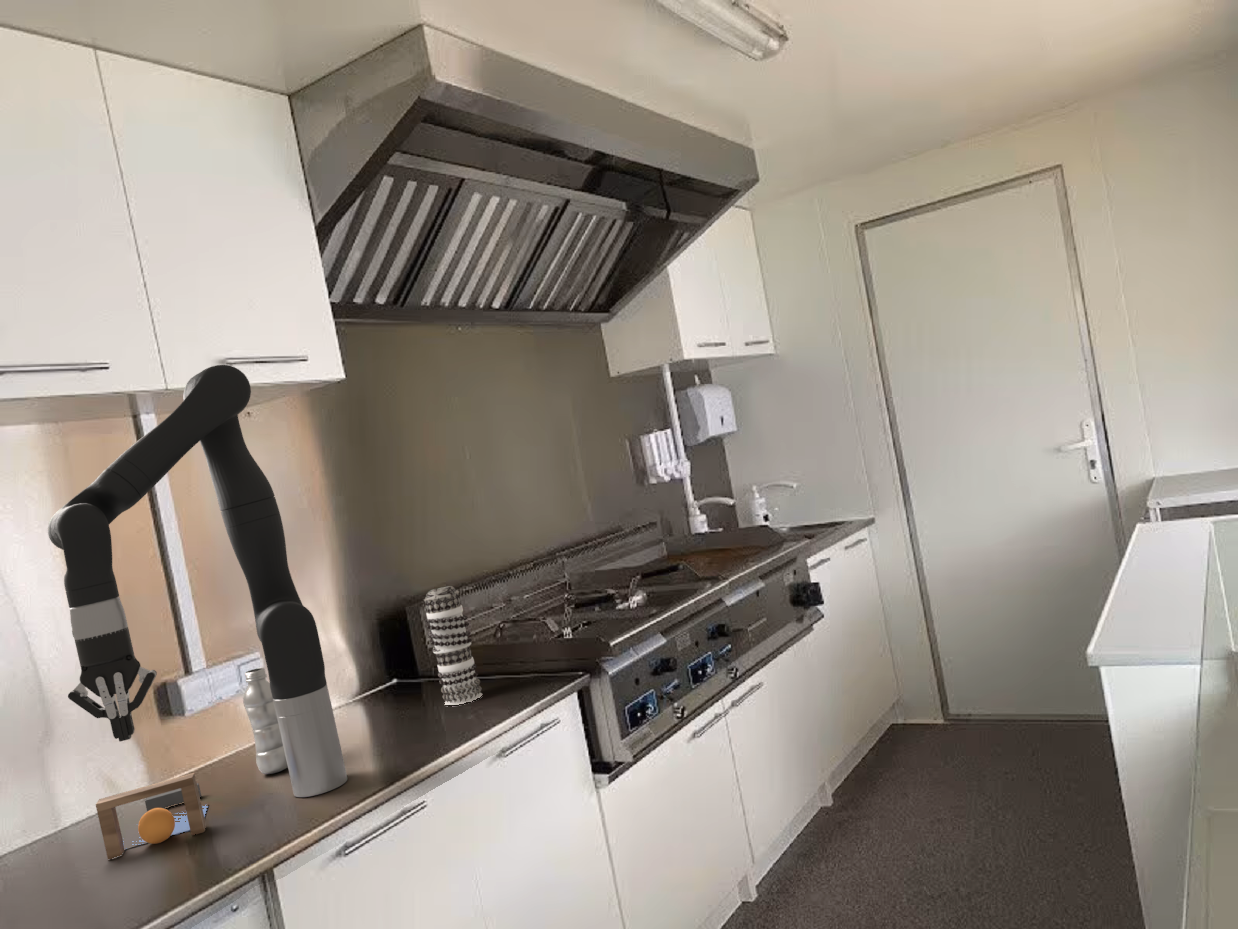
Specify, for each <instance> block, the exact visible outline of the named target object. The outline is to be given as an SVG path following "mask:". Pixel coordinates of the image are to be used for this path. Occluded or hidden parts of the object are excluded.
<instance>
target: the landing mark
mask: <svg viewBox="0 0 1238 929" xmlns="http://www.w3.org/2000/svg"><path fill="white" fill-rule="evenodd" d="M204 805H205V806H203V805H202V808H204V809H203V814H204V818H206V815H207V812H208V809H206V808H209V806H206V805H207V804H204ZM206 811H207V812H206ZM182 812H183V811H182ZM178 813H179V812H175V814H178ZM179 814H187V813H184V812H183V813H179ZM205 814H206V815H205ZM173 817H174V818H176V819H175V821H180V822H175V827H174V830H173V832H172V834H171V835H170V836H172V835H175V836H178V835H181V834H180V833H182V834H184V833H183V832H185V833H188V832H191V831H190V827H189V822H188V818H187V815H186V816H185V815H184V816H182V815H181V816H173ZM178 818H181V819H179V820H178ZM185 821H186V822H185ZM172 837H173V836H172ZM139 838H141V837H139ZM123 842H124V841H123ZM132 842H134V841H132ZM136 842H137V841H136ZM139 842H145V841H144V840H142V841H141V840H139ZM142 844H144V843H142ZM132 845H134V844H132ZM135 845H137V844H135ZM138 845H141V844H138ZM141 846H142V845H141ZM126 849H127V848H126Z"/></svg>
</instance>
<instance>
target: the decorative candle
mask: <svg viewBox="0 0 1238 929" xmlns="http://www.w3.org/2000/svg"><path fill="white" fill-rule="evenodd" d="M459 593H460V590H457V589H456V588H455V587H454V586H452V585H447V586H441V587H437V588H434V589H431V590H429V591H427V593H426V595H425V598H423V599H422V601H424V606H425V611H426V612H425V615H426V617H425V618H424V621H425V622H426V624H425V626H424V627H426V628H427V630H429V631H428V633H427V635H428V636H429V638H430V640H429V643H430V644H431V645H432V646H433V647H432V650H431V651H432V653H433V654H435V657H436V661H437V665H436V666H437V670H438V673H437V677H438V678H439V679H440V680H439V681H438V683H439V685H441V686H442V687H441V688H440V692H441V693H442V694H443V695H442V699H443V700H444V701H445V702H444V703H445V704H444V706H445V705H459V704H464V703H466V702H471V703H473V702H474V701H473V700H476V699H477V698H480V697H481V696H482V695H483V693H482V687H481V685H480V683H481V680H480V679H479V678H478V677H477V676H478V675H479V671H477V670H476V669H477V668H478V665H477V664H475V659H474V656H473V655H472V650H471V645H472V640H473V639H472V638H470V637H469V636H470V635H471V632H470V631H468V630H467V628H468V627H469V625H470V623H469V622H467V621H466V620H467V619H468V615H466V614H463V612H464V608H463V605H462V603H461V598H460V596H459V595H460V594H459ZM482 697H483V696H482ZM482 697H481V698H482ZM481 698H480V699H481ZM472 701H473V702H472ZM476 701H477V700H476ZM464 705H465V704H464ZM459 706H460V705H459Z"/></svg>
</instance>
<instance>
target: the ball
mask: <svg viewBox="0 0 1238 929" xmlns="http://www.w3.org/2000/svg"><path fill="white" fill-rule="evenodd" d="M172 814H173V813H172V812H171V811H170V810H168V808H167V809H164V808H154V809H151V810H149V811H148V812H147V811H146V812H145V813H143V815H141V817H140V819H139V821H138V824H137V825H138V833H139V835H140V837H141V838H142V840H144V841H145V842H147V843H148V844H151V845H152V844H153V845H154V844H160V843H163V842H165V841H166V840H168V839H169V838H170V835H171V834H172V832H173V830H174V827H175V819H174V817H173V815H172Z"/></svg>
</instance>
